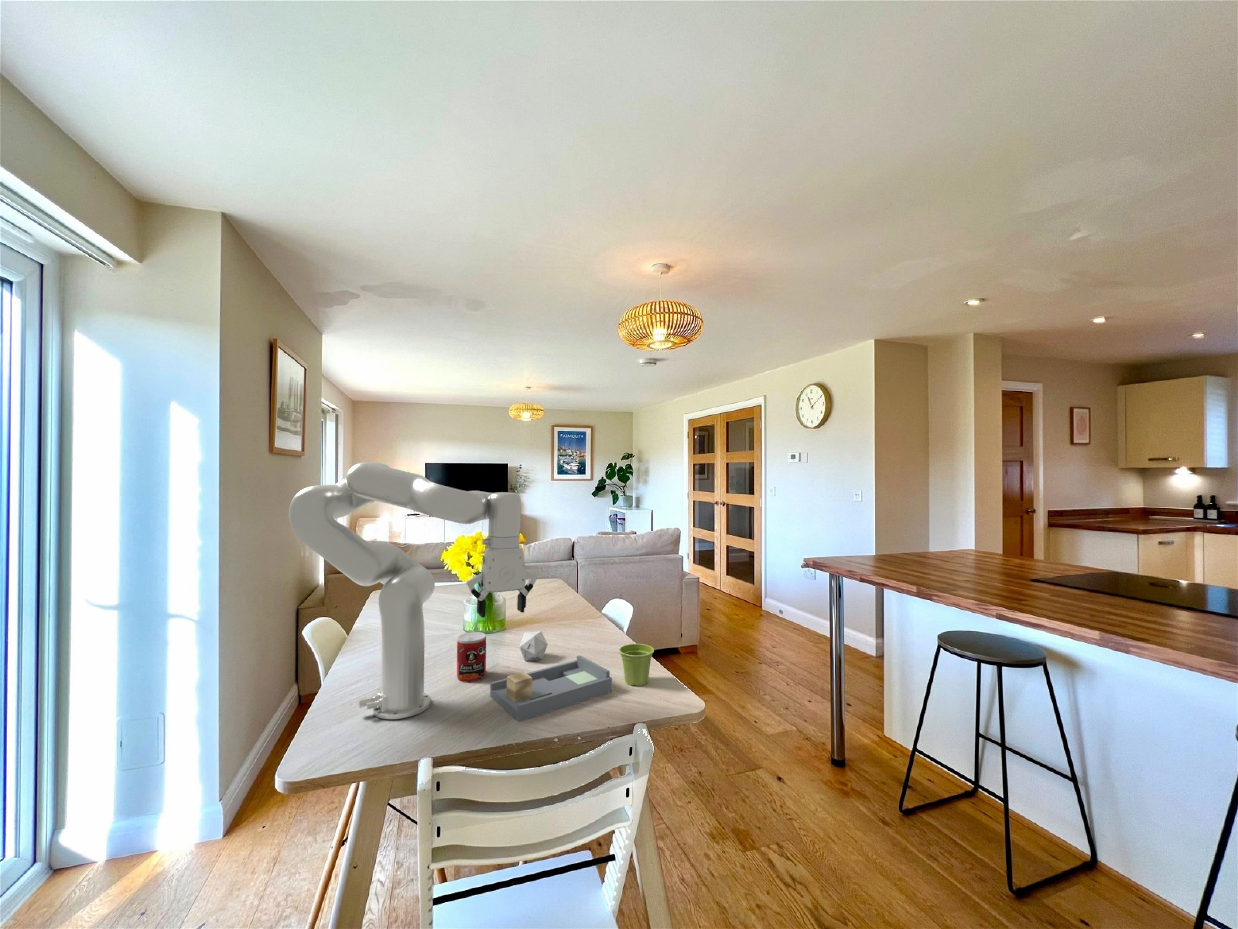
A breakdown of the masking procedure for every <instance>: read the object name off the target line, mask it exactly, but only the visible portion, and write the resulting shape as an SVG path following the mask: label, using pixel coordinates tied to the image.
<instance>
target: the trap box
mask: <svg viewBox="0 0 1238 929" xmlns="http://www.w3.org/2000/svg"><path fill="white" fill-rule="evenodd" d="M525 673H526V674H528V675H529V676H531V677H532V697H528V698H525V699H522V700H518V701H514V700H513V699H511V698H510V697H509V696H508V695H507V677H506V678H502V679H499V680H495V681H490V683H489V684H490V685H489V687H490V688H489V697H490V698H491V699H492V700H493V701H494V702H496V704H498V705H499V706H500V707H502V709H504V710H505V711H506V712H507V713H508V714H510V716H512V717H513V718H514V719H516V720H517V722H519V723H520V722H522V721H526V720H529V719H531V718H536V717H538V716H540V715H544V714H548V713H551V712H554V711H557V710H559V709H563V708H566V707H569V706H572V705H575V704H578V703H582V702H585V701H587V700H591V699H593V698H598V697H600V696H604V695H606V694H608V693H612V690H613V678H612V677H611V676H610V674H611V673H610V670H609V669H607V668H605V667H603V666H601V665H599V664H597V663H596V662H593V661H592V660H590V659H587V658H585V657H584V656H582V655H580V654H579V655H577V656H576V659H575V660H572V661H568V662H563V663H560V664H559V663H558V664H556V665H553V666H549V667H545V668H541V669H537V670H533V671H529V672H525Z"/></svg>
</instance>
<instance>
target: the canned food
mask: <svg viewBox="0 0 1238 929" xmlns="http://www.w3.org/2000/svg"><path fill="white" fill-rule="evenodd" d="M456 644H457V645H456V677H457V680H459V681H461V682H464V683H473V682H477V681H480V680H482V679H483V678H485V676H486V673H487V668H486V667H487V635H486V633H484V632H480V631H479V632H478V631H472V632H466V633H462V634H460V635H459V636H457V639H456Z"/></svg>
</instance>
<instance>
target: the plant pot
mask: <svg viewBox="0 0 1238 929" xmlns="http://www.w3.org/2000/svg"><path fill="white" fill-rule="evenodd" d="M618 652H619V653H620V657H621V660H622V667H623V674H624V680H625V683H626V684H627V685H629V686H637V687H640V686H644V685H646V684H647V683H648V682H649V678H650V677H649V676H650V669H651V660H652V657H653V653H654V652H655V649H654V647H652V646H651V645H648V644H645V643H628V644H624V645H621V646H620V647H619V648H618Z"/></svg>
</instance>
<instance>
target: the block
mask: <svg viewBox="0 0 1238 929" xmlns="http://www.w3.org/2000/svg"><path fill="white" fill-rule="evenodd" d="M526 673H527V672H524V671H521V672H518V673H514V674H510V675H507V676H506V678H507V695H508V696H509V697H510V698H511V699H513V700H514V701H518V700H522V699H525V698H528V697H532V677H531V676H529V675H528V674H526Z"/></svg>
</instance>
